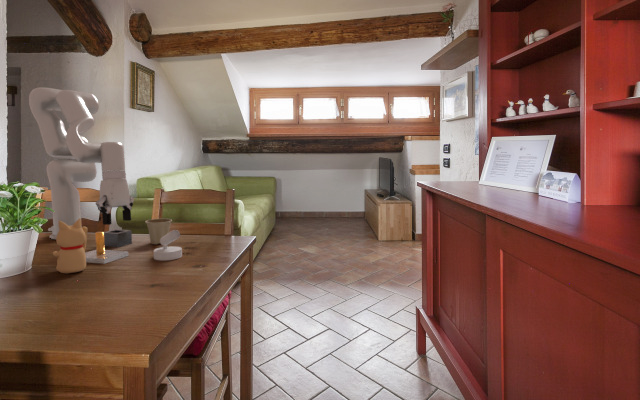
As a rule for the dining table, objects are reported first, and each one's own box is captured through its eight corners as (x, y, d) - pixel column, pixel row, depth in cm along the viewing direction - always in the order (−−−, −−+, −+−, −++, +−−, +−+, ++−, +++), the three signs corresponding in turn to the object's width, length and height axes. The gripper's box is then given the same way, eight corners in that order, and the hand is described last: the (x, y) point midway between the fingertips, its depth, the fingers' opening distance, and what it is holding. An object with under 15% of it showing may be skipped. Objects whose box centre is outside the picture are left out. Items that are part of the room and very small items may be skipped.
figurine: (82, 264, 115) (79, 215, 113) (97, 270, 109) (94, 218, 107) (49, 271, 108) (45, 218, 106) (63, 277, 102) (60, 222, 101)
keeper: (72, 261, 118) (70, 234, 117) (98, 253, 128) (96, 228, 127) (104, 263, 115) (102, 236, 114) (128, 255, 125) (127, 230, 124)
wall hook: (163, 232, 116) (147, 228, 122) (164, 262, 117) (148, 257, 123) (188, 228, 123) (172, 225, 129) (189, 257, 124) (173, 252, 130)
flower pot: (166, 245, 140) (165, 222, 139) (141, 245, 140) (140, 222, 140) (176, 240, 150) (176, 218, 149) (153, 240, 150) (152, 218, 149)
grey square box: (102, 246, 139) (101, 232, 138) (116, 242, 146) (115, 229, 145) (118, 247, 137) (117, 233, 137) (132, 243, 144) (131, 230, 143)
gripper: (123, 175, 148) (126, 219, 149) (85, 177, 131) (89, 226, 133) (139, 175, 146) (142, 219, 148) (103, 176, 129) (107, 226, 131)
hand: (117, 222), depth 140 cm, fingers open, 9 cm apart
